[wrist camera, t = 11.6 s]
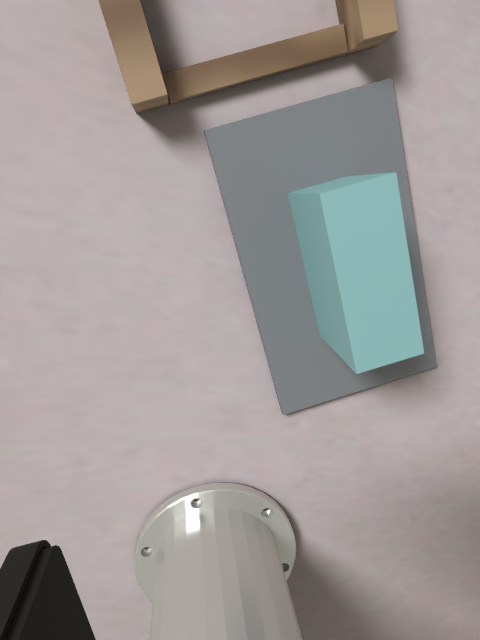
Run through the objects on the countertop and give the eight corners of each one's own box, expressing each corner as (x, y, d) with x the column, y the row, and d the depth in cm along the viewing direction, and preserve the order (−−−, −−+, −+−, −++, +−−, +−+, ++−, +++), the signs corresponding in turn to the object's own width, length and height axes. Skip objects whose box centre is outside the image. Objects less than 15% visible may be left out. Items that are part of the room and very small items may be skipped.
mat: (432, 363, 35) (437, 366, 34) (281, 411, 34) (283, 415, 33) (387, 79, 29) (392, 77, 28) (204, 131, 28) (204, 130, 28)
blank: (347, 176, 29) (396, 172, 23) (373, 319, 32) (424, 353, 26) (287, 193, 29) (319, 193, 22) (319, 335, 32) (356, 374, 25)
